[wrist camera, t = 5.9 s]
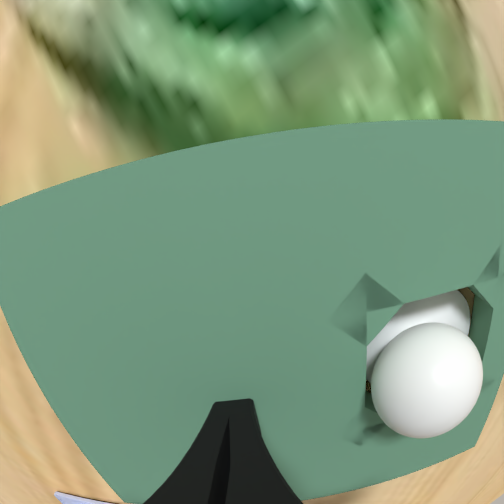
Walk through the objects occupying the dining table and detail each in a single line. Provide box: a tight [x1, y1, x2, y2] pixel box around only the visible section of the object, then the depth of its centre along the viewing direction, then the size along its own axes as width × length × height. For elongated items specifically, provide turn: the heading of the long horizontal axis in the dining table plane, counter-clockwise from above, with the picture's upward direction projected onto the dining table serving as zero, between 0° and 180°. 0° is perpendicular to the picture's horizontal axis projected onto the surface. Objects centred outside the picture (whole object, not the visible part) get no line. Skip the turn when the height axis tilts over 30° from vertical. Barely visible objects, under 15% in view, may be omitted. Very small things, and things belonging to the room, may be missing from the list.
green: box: [0, 120, 504, 504], centre depth 12 cm, size 18×22×2 cm
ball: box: [371, 322, 483, 438], centre depth 10 cm, size 4×4×4 cm
